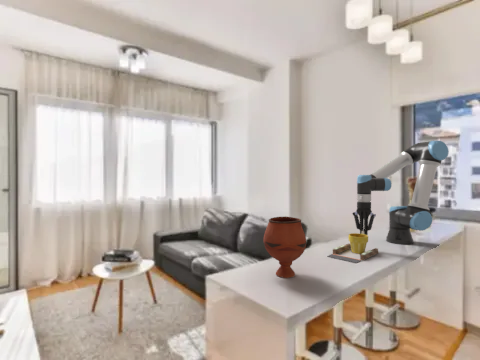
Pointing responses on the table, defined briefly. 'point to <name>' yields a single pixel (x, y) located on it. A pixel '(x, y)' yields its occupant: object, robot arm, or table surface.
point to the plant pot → (358, 242)
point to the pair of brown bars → (362, 256)
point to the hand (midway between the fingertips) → (363, 241)
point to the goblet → (285, 242)
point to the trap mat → (344, 258)
